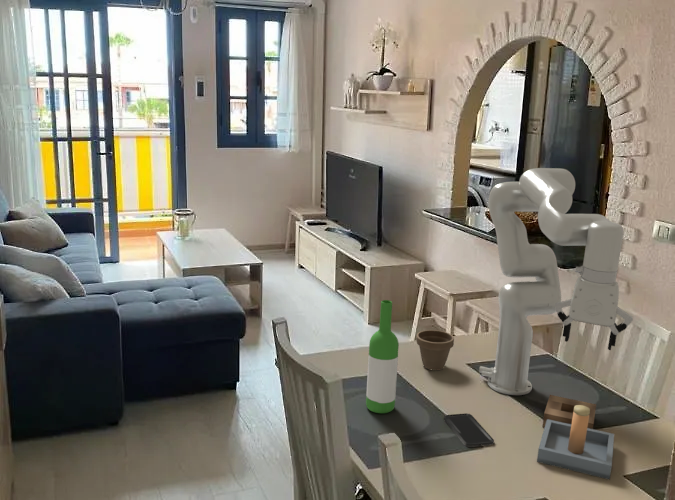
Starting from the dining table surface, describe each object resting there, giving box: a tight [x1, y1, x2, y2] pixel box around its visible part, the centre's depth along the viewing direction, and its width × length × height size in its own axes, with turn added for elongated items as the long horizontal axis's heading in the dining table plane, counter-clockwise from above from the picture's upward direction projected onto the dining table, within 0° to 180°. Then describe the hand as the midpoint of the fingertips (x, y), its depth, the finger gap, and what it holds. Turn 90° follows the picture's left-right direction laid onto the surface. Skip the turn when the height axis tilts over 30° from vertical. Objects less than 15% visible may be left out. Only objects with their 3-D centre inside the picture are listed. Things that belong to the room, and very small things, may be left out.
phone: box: [443, 413, 495, 448], centre depth 174 cm, size 8×1×15 cm
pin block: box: [542, 394, 597, 429], centre depth 181 cm, size 12×12×4 cm
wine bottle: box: [365, 299, 400, 414], centre depth 181 cm, size 8×8×30 cm
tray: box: [536, 419, 615, 480], centre depth 165 cm, size 16×16×4 cm
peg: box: [568, 405, 590, 454], centre depth 164 cm, size 4×4×11 cm
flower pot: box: [415, 329, 455, 371], centre depth 212 cm, size 12×11×10 cm
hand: (587, 343), depth 163 cm, fingers open, 9 cm apart
